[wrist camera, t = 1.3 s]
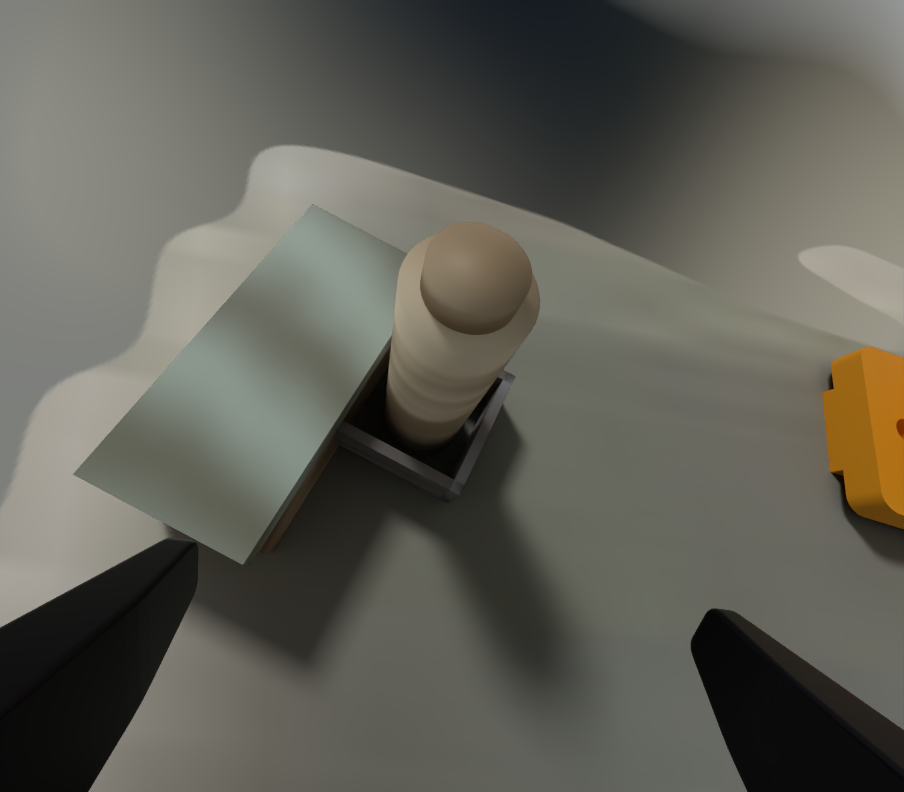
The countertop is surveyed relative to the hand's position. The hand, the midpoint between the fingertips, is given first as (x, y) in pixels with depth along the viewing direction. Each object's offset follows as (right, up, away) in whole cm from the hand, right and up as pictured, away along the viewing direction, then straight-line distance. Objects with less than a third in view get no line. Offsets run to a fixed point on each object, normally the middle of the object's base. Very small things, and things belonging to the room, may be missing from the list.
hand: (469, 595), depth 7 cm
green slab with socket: (-5, +2, +15) cm, 16 cm away
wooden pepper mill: (-2, +2, +15) cm, 16 cm away
